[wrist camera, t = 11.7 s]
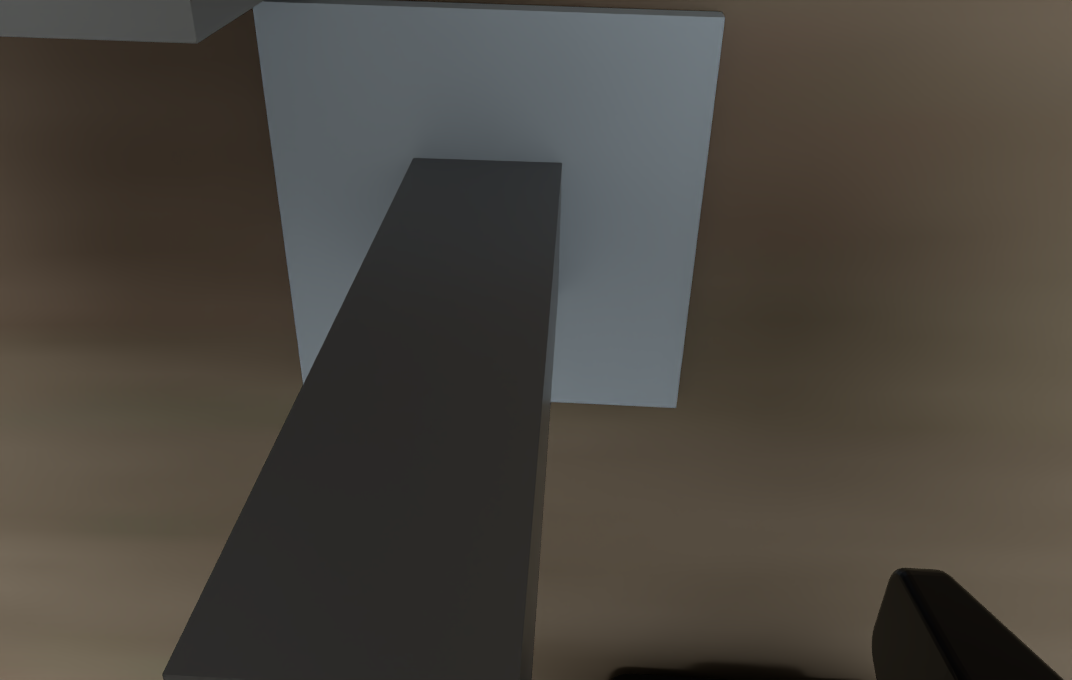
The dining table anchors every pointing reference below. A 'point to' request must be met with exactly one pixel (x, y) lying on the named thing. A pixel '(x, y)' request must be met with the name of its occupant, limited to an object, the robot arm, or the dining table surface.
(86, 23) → the breaker housing
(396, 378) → the dark gray rectangular block
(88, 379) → the dining table surface
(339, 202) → the pad
